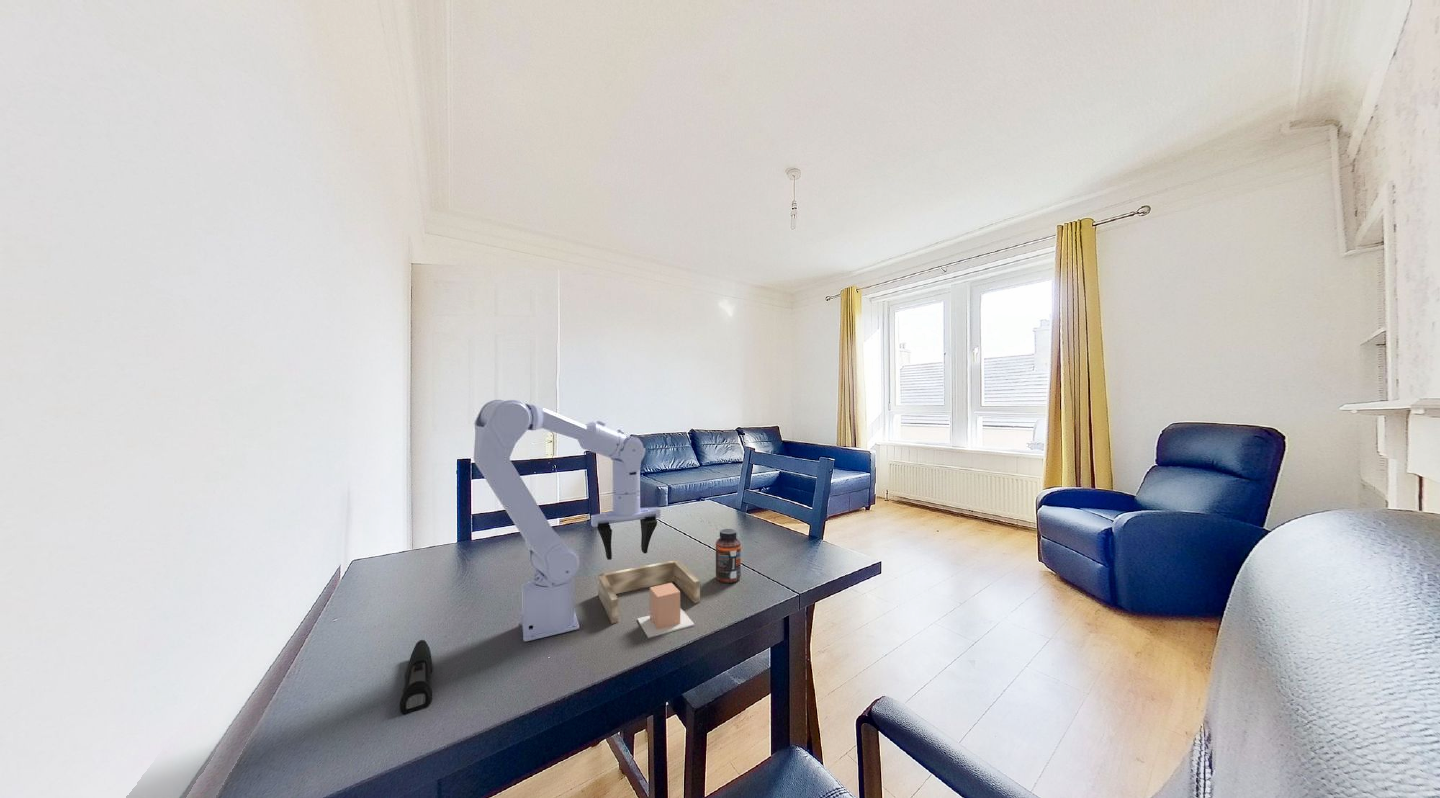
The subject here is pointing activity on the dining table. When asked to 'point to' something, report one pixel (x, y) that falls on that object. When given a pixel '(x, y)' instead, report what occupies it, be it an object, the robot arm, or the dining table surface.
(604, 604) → the wooden u-shaped frame
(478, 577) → the dining table surface
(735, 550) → the supplement bottle
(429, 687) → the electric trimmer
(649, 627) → the pad
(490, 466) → the robot arm
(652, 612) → the block
